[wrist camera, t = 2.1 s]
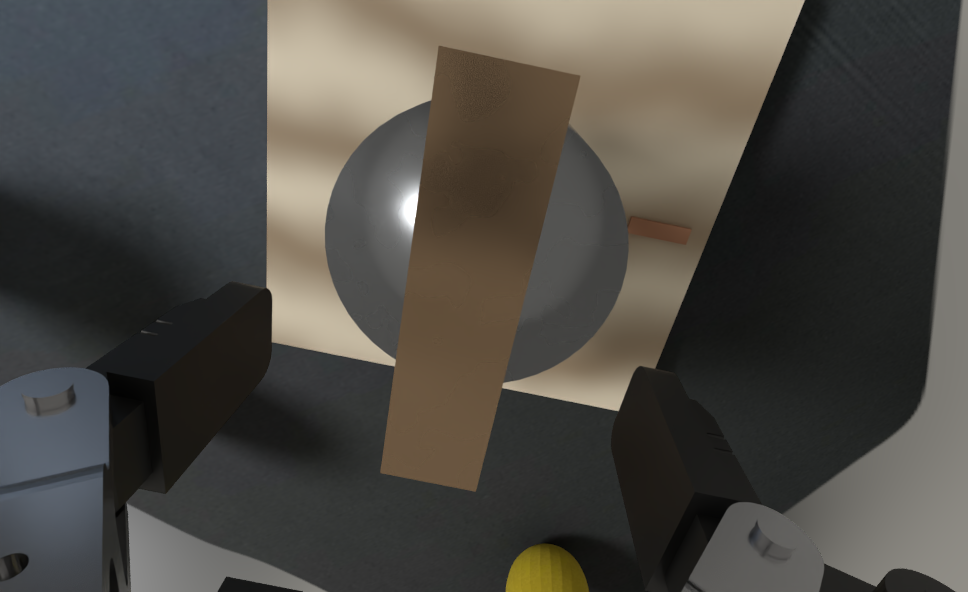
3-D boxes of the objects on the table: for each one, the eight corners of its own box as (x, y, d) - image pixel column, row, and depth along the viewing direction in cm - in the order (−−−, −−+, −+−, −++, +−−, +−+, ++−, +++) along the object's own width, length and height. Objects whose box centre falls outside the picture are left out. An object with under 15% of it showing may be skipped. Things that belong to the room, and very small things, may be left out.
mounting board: (284, -122, 21) (265, -137, 19) (792, -11, 21) (814, -17, 20) (278, 328, 30) (265, 342, 29) (631, 399, 31) (637, 416, 29)
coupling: (402, 38, 22) (270, 9, 10) (627, 86, 22) (744, 110, 10) (373, 299, 27) (268, 470, 16) (554, 336, 27) (578, 530, 16)
